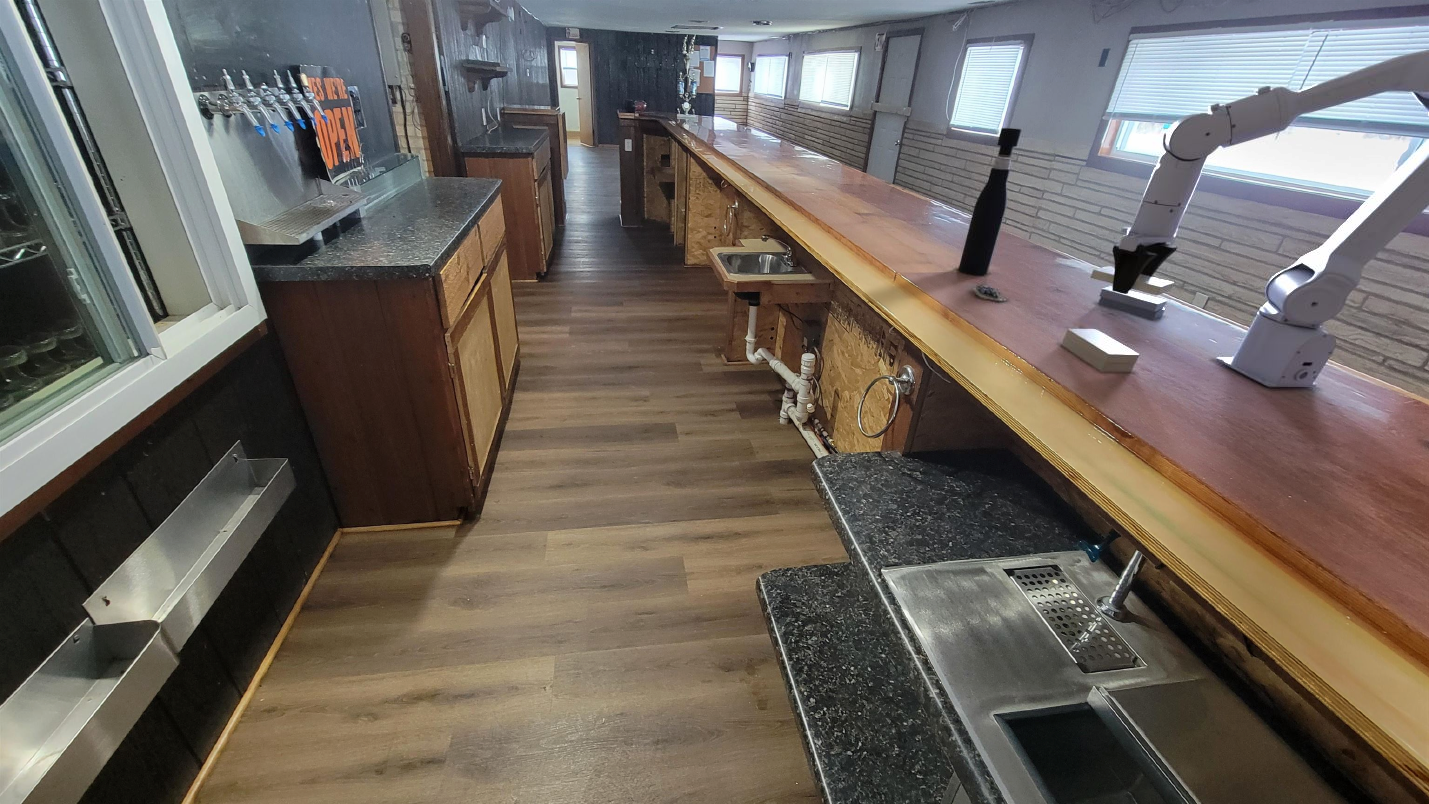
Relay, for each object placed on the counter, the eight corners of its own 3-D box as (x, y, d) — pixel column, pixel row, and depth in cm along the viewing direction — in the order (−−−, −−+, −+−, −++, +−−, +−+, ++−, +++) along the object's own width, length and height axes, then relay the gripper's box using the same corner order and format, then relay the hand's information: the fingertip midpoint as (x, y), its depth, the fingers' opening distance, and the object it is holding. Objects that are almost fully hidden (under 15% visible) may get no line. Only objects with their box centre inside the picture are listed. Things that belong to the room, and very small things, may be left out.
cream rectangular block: (1132, 372, 86) (1140, 354, 85) (1101, 372, 86) (1108, 354, 84) (1088, 344, 95) (1095, 328, 94) (1060, 344, 95) (1066, 328, 93)
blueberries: (987, 288, 120) (990, 279, 120) (1016, 300, 114) (1019, 291, 113) (962, 290, 118) (964, 281, 117) (990, 303, 112) (993, 293, 111)
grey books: (1162, 316, 109) (1169, 300, 108) (1152, 320, 107) (1159, 304, 105) (1105, 300, 116) (1112, 285, 115) (1096, 303, 114) (1102, 288, 113)
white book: (1170, 290, 89) (1174, 282, 88) (1157, 295, 87) (1161, 287, 86) (1104, 273, 96) (1107, 265, 95) (1090, 277, 94) (1093, 269, 93)
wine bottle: (952, 268, 133) (988, 127, 118) (972, 266, 135) (1009, 127, 120) (973, 276, 128) (1013, 130, 113) (993, 273, 130) (1035, 130, 115)
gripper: (1155, 195, 92) (1121, 276, 98) (1113, 201, 84) (1080, 289, 91) (1206, 203, 87) (1167, 288, 93) (1166, 210, 79) (1127, 302, 86)
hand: (1127, 289), depth 92 cm, fingers closed on white book, 5 cm apart
